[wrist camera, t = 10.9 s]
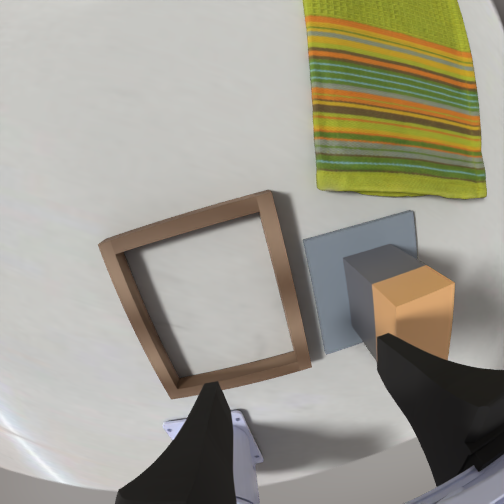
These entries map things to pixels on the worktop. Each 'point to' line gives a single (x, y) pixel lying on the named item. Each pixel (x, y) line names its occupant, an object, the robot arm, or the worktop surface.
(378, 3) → the dish towel
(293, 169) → the worktop surface
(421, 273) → the orange grey tall block
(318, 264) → the mat
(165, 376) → the frame
